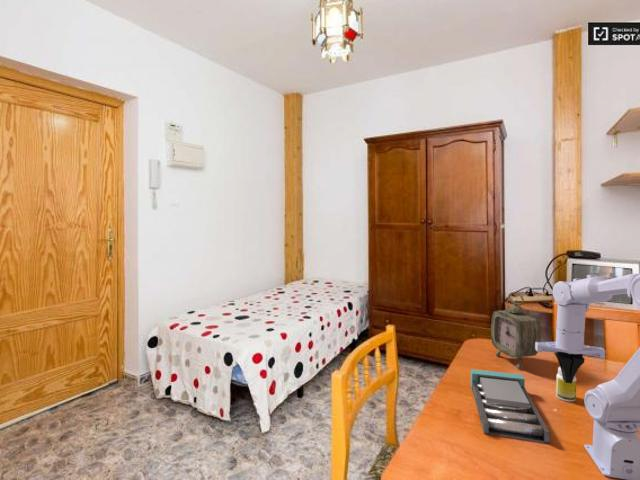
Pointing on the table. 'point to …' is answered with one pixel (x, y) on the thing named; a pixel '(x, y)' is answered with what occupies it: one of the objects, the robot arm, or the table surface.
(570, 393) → the supplement bottle
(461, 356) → the table surface
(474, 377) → the end stop
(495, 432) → the roller bed
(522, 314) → the tabletop clock
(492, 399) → the slab
